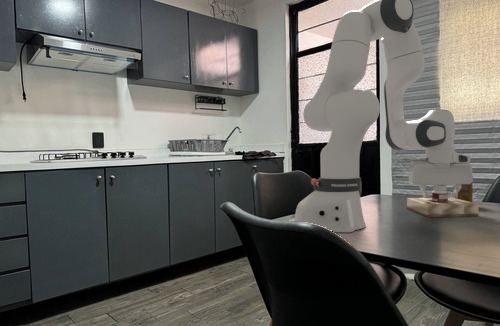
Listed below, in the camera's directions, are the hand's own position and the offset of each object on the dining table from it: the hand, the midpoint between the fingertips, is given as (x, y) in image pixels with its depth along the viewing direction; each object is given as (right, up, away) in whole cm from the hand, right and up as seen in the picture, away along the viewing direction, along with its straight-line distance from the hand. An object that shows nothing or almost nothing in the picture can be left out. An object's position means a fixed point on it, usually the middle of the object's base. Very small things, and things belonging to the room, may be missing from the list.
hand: (440, 197), depth 119 cm
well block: (0, -5, 0) cm, 5 cm away
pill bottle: (0, -4, 0) cm, 4 cm away
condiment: (+15, -4, +12) cm, 19 cm away
